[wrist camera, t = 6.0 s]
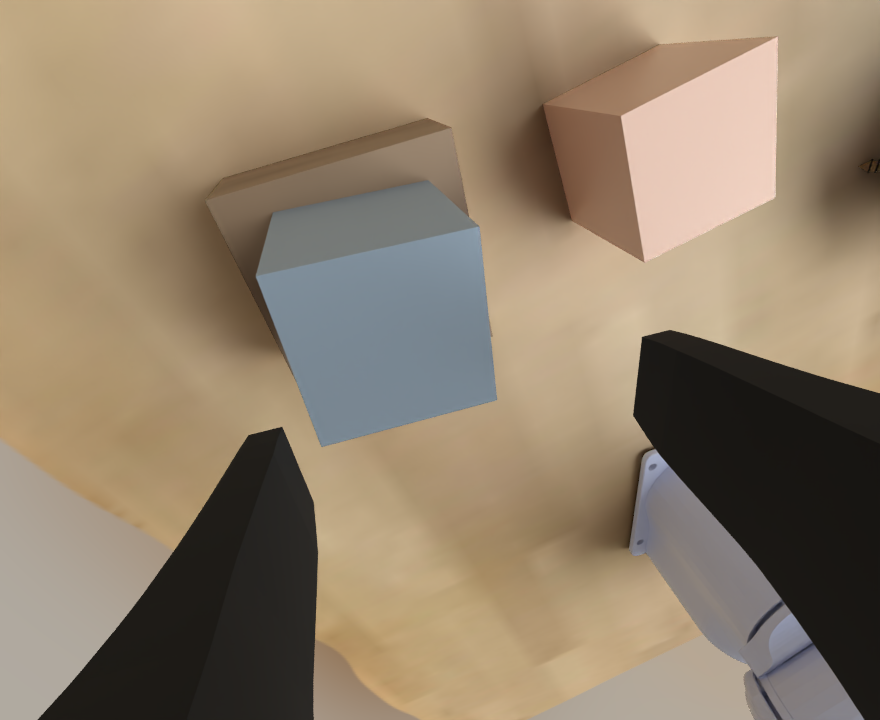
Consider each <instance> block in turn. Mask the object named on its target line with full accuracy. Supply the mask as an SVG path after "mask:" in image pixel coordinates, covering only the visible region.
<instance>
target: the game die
mask: <svg viewBox="0 0 880 720" xmlns="http://www.w3.org/2000/svg"><path fill="white" fill-rule="evenodd" d="M858 167H860V168H862V169H863V170H865V171H867V173H869V172H874V173H876V172H877V171H880V160H878V161H873V159H872V160H871V161H869V162H867V163H865V164H863V165H860V166H858Z"/></svg>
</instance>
